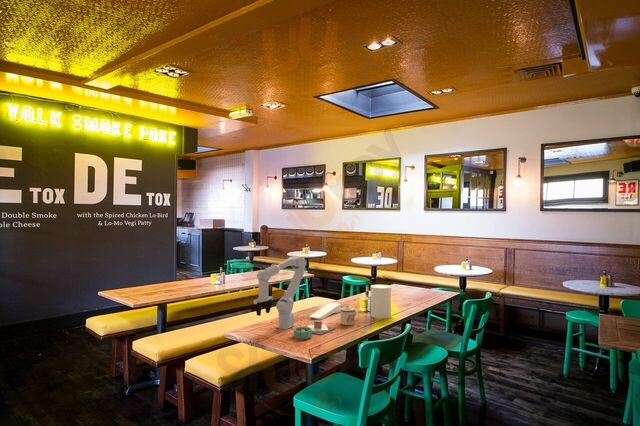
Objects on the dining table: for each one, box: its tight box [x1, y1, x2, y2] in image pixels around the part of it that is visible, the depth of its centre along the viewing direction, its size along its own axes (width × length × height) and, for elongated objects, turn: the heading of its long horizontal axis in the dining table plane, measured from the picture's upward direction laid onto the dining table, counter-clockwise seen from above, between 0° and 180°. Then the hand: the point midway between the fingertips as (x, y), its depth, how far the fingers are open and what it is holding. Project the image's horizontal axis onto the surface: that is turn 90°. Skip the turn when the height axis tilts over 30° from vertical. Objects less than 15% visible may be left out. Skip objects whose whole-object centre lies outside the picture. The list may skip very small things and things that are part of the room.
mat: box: [312, 325, 336, 336], centre depth 230 cm, size 15×15×1 cm
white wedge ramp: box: [308, 302, 342, 320], centre depth 265 cm, size 10×7×28 cm
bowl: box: [293, 326, 313, 340], centre depth 217 cm, size 10×10×4 cm
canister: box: [370, 283, 392, 320], centre depth 261 cm, size 14×14×20 cm
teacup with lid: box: [340, 304, 357, 326], centre depth 244 cm, size 12×9×12 cm
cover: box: [307, 319, 328, 332], centre depth 230 cm, size 11×11×5 cm
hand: (263, 314), depth 226 cm, fingers open, 7 cm apart
